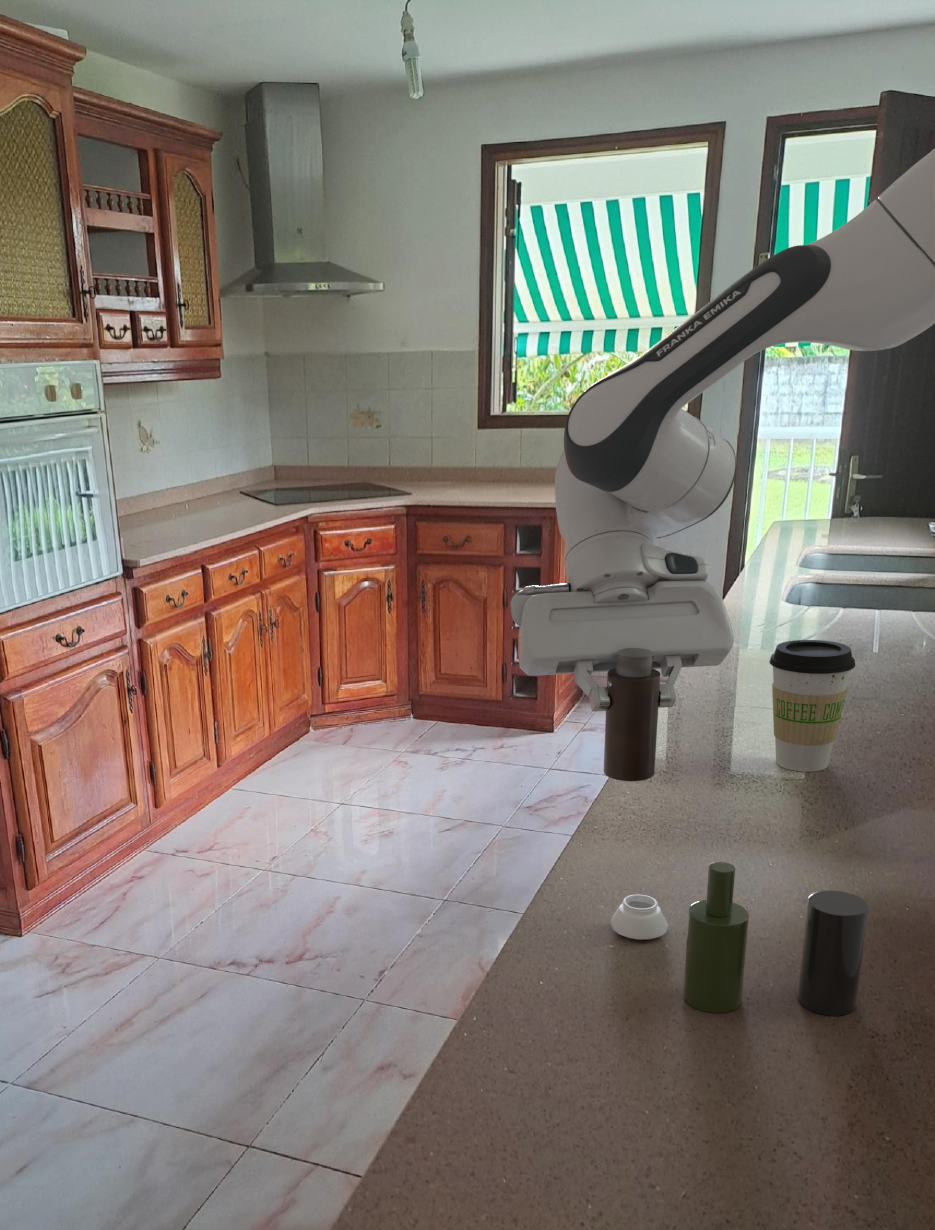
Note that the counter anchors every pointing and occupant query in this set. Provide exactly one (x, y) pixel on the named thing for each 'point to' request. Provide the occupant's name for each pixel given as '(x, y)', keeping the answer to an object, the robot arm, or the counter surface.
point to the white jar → (639, 918)
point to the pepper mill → (632, 716)
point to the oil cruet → (716, 945)
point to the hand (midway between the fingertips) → (634, 706)
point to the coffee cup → (808, 700)
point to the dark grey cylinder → (832, 952)
